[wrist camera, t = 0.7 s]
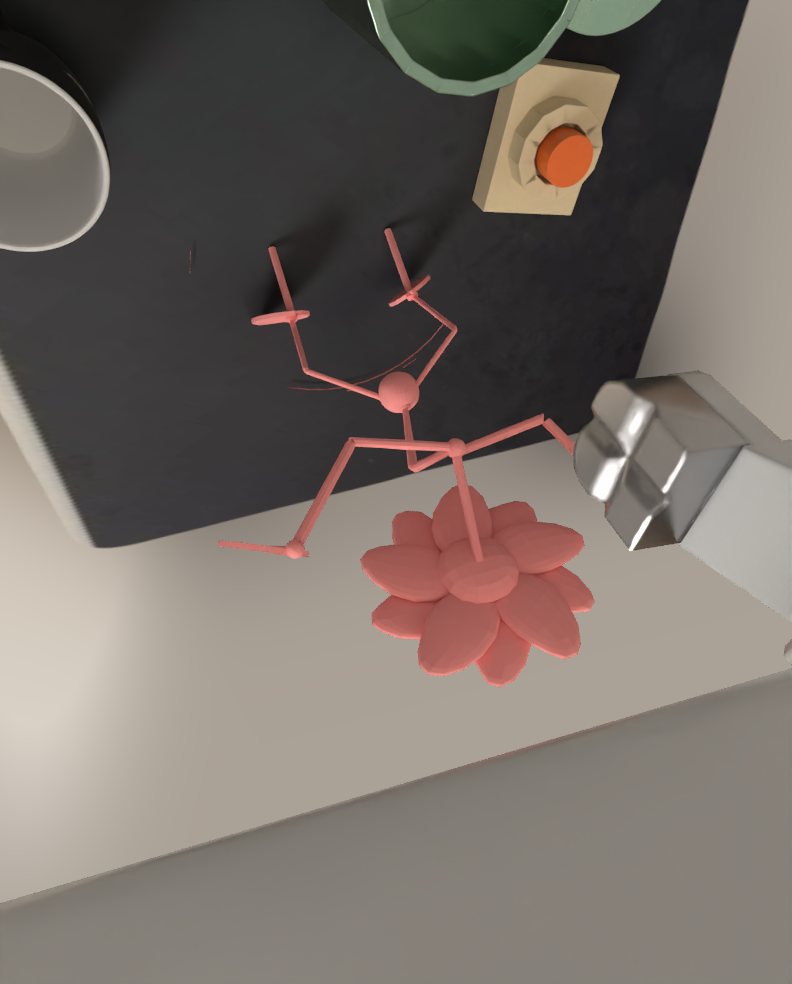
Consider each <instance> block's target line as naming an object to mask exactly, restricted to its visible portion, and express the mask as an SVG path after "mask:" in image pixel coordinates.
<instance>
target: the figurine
mask: <svg viewBox="0 0 792 984" xmlns="http://www.w3.org/2000/svg"><path fill="white" fill-rule="evenodd" d="M384 232H385V235H386V238H387V241H388V243H389V246H390V249H391V252H392V255H393V258H394V260H395V263H396V266H397V269H398V272H399V274H400V277H401V280H402V283H403V286H404V288H405V289H403V290H402V291H401V292H400V293H399V294H397V295H396V296H395V297H394V298H393V299H392V300H391V301H390V302H389V303H388V304H389V305H390V306H391V307H392V306H394V305H397V304H399V303H400V302H402V301H403V300H405V299H406V298H407V299H408V300H409V301H412V300H414V301H416V302H417V303H418V304H419V305H421V306H422V307H423V308H425V309H426V310H427V311H428V312H430V313H431V314H432V315H433V316H435V317H436V318H437V319H438V320H440V321H441V322H442V323H443V324H442V325H441V327H442V326H443V325H444V324H445V325H446V326H447V327H449V328H450V329H451V330H452V331H451V332H450V334H449V335H448V336H447V338H446V339H445V341H444V342H443V343H442V345H441V346H440V348H439V349H438V350H437V352H436V353H435V354H434V356H433V357H432V359H431V360H430V361H429V363H428V364H427V366H426V367H425V368H424V370H423V371H422V373H421V374H420V375H419V377H418V378H417V380H416V381H415V379H414V378H413V377H412V376H411V375H409V374H408V373H405V372H393V373H390V374H389V375H387V376H386V377H384V378H383V380H382V381H381V383H380V385H379V394H378V393H375V392H372V391H370V390H367V389H364V388H361V387H358V386H355V385H356V384H360V383H363V382H367V381H369V380H371V379H374V378H376V377H379V376H381V375H383V374H385V373H387V372H389V371H391V370H392V369H394V368H396V367H398V366H399V365H401V364H402V363H404V362H405V361H406V360H408V359H409V358H411V357H412V356H413V355H415V354H416V353H417V352H418V351H419V350H420V349H421V348H423V347H424V346H425V345H426V344H427V343H428V342H429V341H430V340H431V339H432V338H433V337H434V335H435V334H436V333H437V332H438V331H439V329H440V328H441V327H440V328H439V329H438V330H437V331H436V333H435V334H434V335H433V336H432V337H431V339H430V340H428V341H427V342H426V343H425V344H424V345H423V346H422V347H421V348H420V349H419V350H418V351H417V352H416V353H414V354H413V355H411V356H410V357H409V358H407V359H406V360H405V361H403V362H402V363H401V364H399V365H397V366H395V367H394V368H392V369H390V370H388V371H387V372H385V373H383V374H381V375H378V376H376V377H373V378H371V379H369V380H366V381H363V382H359V383H356V384H350V383H347V382H344V381H341V380H338V379H336V378H333V377H330V376H327V375H324V374H321V373H319V372H316V371H313V370H310V369H309V368H308V365H307V361H306V358H305V354H304V351H303V348H302V344H301V341H300V337H299V334H298V330H297V327H296V324H295V322H296V321H297V320H298V319H303V318H306V317H308V316H309V311H304V310H300V311H295V310H294V307H293V304H292V300H291V297H290V294H289V290H288V287H287V284H286V281H285V277H284V274H283V271H282V268H281V264H280V261H279V258H278V254H277V251H276V248H275V247H273V246H272V247H270V248H269V249H268V250H269V253H270V256H271V260H272V263H273V266H274V270H275V273H276V276H277V280H278V283H279V286H280V290H281V293H282V296H283V300H284V303H285V306H286V309H287V312H278V313H272V314H267V315H261V316H258V317H254V318H253V319H251V321H252V324H256V325H265V324H273V323H280V322H288V323H290V325H291V329H292V332H293V336H294V339H295V343H296V346H297V350H298V353H299V357H300V361H301V364H302V368H303V371H304V372H305V373H306V374H308V375H311V376H314V377H317V378H319V379H322V380H325V381H328V382H331V383H333V384H336V385H339V386H342V387H337V388H344V387H345V388H347V389H350V390H347V391H351V390H353V391H356V392H359V393H361V394H364V395H367V396H370V397H373V398H375V399H378V400H380V401H381V403H382V404H383V406H384V407H385V408H386V409H387V410H389V411H391V412H395V413H403V420H404V430H405V440H397V439H376V438H357V437H349V441H348V442H346V443H345V445H344V447H343V449H342V451H341V453H340V454H339V456H338V458H337V460H336V462H335V464H334V465H333V467H332V469H331V471H330V473H329V475H328V476H327V478H326V480H325V482H324V484H323V486H322V487H321V489H320V491H319V493H318V495H317V497H316V498H315V500H314V502H313V504H312V506H311V508H310V509H309V511H308V513H307V515H306V517H305V519H304V521H303V522H302V524H301V526H300V528H299V530H298V531H297V533H296V535H295V537H294V539H293V540H291V541H289V543H287V545H286V546H264V545H255V544H247V543H239V542H230V541H219V542H218V546H222V547H230V548H238V549H247V550H254V551H262V552H268V553H274V554H279V555H285V556H289V557H291V558H298V557H308V555H309V552H308V551H304V550H305V548H304V545H303V544H304V543H305V541H306V539H307V537H308V535H309V533H310V531H311V529H312V527H313V525H314V524H315V522H316V520H317V518H318V516H319V514H320V512H321V510H322V509H323V506H324V505H325V503H326V501H327V499H328V497H329V495H330V493H331V492H332V490H333V488H334V486H335V484H336V482H337V480H338V478H339V476H340V475H341V473H342V471H343V469H344V467H345V465H346V463H347V461H348V459H349V458H350V456H351V454H352V452H353V450H354V448H355V446H357V447H376V448H390V449H403V450H407V460H408V468H409V469H410V470H412V471H413V472H418V471H420V470H422V469H424V468H426V467H428V466H430V465H432V464H434V463H435V462H437V461H439V460H441V459H443V458H445V457H447V456H450V457H452V459H453V464H454V468H455V473H456V478H457V483H458V485H457V486H455V487H452V488H451V489H450V490H449V491H448V492H447V493H446V494H445V495H444V496H443V497H442V499H441V500H440V502H439V504H438V506H437V508H436V509H435V511H434V513H433V519H431V518H429V517H428V516H426V515H425V514H423V513H422V512H415V511H405V512H402V513H399V514H397V515H396V516H395V518H394V520H393V522H392V528H393V532H392V533H393V534H392V539H393V542H394V545H389V546H381V547H377V548H374V549H371V550H368V551H367V552H366V553H365V554H364V556H363V557H362V558H361V559H360V560H361V564H362V569H363V571H364V572H365V573H366V574H367V575H368V577H369V578H370V579H371V580H372V581H373V583H375V584H376V585H378V586H379V587H381V588H382V589H384V590H385V591H387V592H389V593H390V594H392V595H391V596H390V597H388V598H387V599H386V600H385V601H384V602H383V603H381V604H380V605H379V606H378V608H376V610H375V611H374V612H373V613H372V624H373V625H374V626H375V627H376V628H377V629H379V630H380V631H381V632H384V633H387V634H390V635H392V636H395V637H398V638H401V639H420V643H419V648H418V658H419V666H420V667H421V668H422V669H423V670H424V671H425V672H426V673H427V674H428V675H437V676H445V675H449V674H451V673H455V672H458V671H461V670H463V669H465V668H466V667H468V666H469V665H471V664H472V663H473V662H475V663H476V665H477V667H478V668H479V670H480V672H481V673H482V675H483V677H484V678H485V680H486V681H487V683H488V684H491V685H494V686H498V687H502V686H504V685H506V684H508V683H510V682H512V681H514V680H515V679H516V677H517V676H518V674H519V673H520V672H521V670H522V669H523V668H524V666H525V664H526V660H527V657H528V653H529V650H530V646H531V645H533V646H535V647H537V648H539V649H541V650H543V651H545V652H547V653H548V654H551V655H553V656H556V657H559V658H563V659H567V658H570V657H572V656H575V655H577V654H578V651H579V648H580V644H581V643H580V635H579V627H578V623H577V621H576V619H575V617H574V615H573V613H572V612H584V611H589V610H590V609H591V607H592V605H593V604H594V599H593V596H592V593H591V591H590V590H589V589H588V588H587V587H586V586H585V584H584V583H583V582H582V581H581V580H580V579H579V577H578V576H576V575H575V574H573V573H572V572H570V571H569V570H567V569H566V568H564V567H563V566H561V565H563V564H565V563H566V562H568V561H569V560H570V559H572V558H573V557H575V556H576V555H578V554H579V552H580V551H581V550H582V548H583V547H584V541H583V537H582V535H580V534H579V533H577V532H576V531H574V530H573V529H571V528H567V527H564V526H561V525H557V524H553V523H543V522H537V518H536V516H535V513H534V510H533V508H532V507H530V506H529V505H528V504H527V503H526V502H519V501H514V502H510V503H506V504H502V505H499V506H497V507H494V508H491V509H488V507H487V505H486V503H485V501H484V498H483V496H482V495H480V494H479V493H478V492H477V491H476V490H475V489H474V488H473V487H472V486H468V485H467V481H466V476H465V471H464V467H463V462H462V456H463V455H464V454H467V453H469V452H472V451H475V450H477V449H480V448H482V447H485V446H487V445H490V444H492V443H495V442H498V441H500V440H503V439H505V438H508V437H510V436H513V435H515V434H518V433H520V432H523V431H525V430H528V429H530V428H533V427H535V426H538V425H540V424H543V423H544V424H543V425H544V426H545V428H546V429H547V430H548V431H549V432H550V433H551V434H552V435H553V436H554V437H555V438H556V439H557V440H558V441H559V442H560V443H561V444H562V445H563V446H564V447H565V448H566V449H567V450H568V451H569V452H570V453H571V454H572V455H573V449H574V446H575V443H574V442H573V441H572V440H571V439H570V438H569V437H568V436H567V435H566V434H565V433H564V432H563V431H562V430H561V429H560V428H559V427H558V426H557V425H556V424H555V423H554V422H553V421H552V420H551V419H547V420H546V421H544V414H543V413H542V414H540V415H537V416H535V417H532V418H530V419H528V420H525V421H523V422H520V423H518V424H515V425H512V426H510V427H507V428H505V429H502V430H500V431H497V432H495V433H492V434H490V435H487V436H485V437H483V438H480V439H478V440H475V441H473V442H470V443H468V444H465V443H464V442H463V441H462V440H460V439H451V440H450V441H449V442H432V441H415V440H413V434H412V429H411V423H410V417H409V410H410V409H411V408H413V407H414V406H415V404H416V403H417V401H418V398H419V388H418V386H419V385H420V383H421V382H422V380H423V379H424V378H425V376H426V375H427V373H428V372H429V371H430V369H431V368H432V366H433V365H434V364H435V362H436V361H437V359H438V358H439V356H440V355H441V354H442V352H443V351H444V349H445V348H446V347H447V345H448V344H449V342H450V341H451V340H452V338H453V337H454V335H455V334H456V333H457V326H455V325H454V324H453V323H451V322H450V321H449V320H447V319H446V318H445V317H444V316H442V315H441V314H440V313H438V312H437V311H436V310H434V309H433V308H432V307H431V306H429V305H428V304H427V303H425V302H424V301H423V300H421V299H420V298H419V297H418V293H417V292H416V291H417V290H419V289H420V288H421V287H422V286H424V285H425V284H426V283H427V282H428V281H429V280H430V276H429V275H426V276H423V277H422V278H420V279H418V280H417V281H415V282H413V283H412V284H410V281H409V278H408V275H407V273H406V270H405V267H404V264H403V261H402V259H401V256H400V253H399V250H398V247H397V245H396V242H395V239H394V236H393V234H392V231H391V229H390V228H387V229H385V231H384ZM190 253H191V250H190ZM417 358H418V357H417ZM414 360H415V359H414ZM414 360H413V361H414ZM411 362H412V361H411ZM411 362H410V363H411ZM410 363H408V364H410ZM408 364H407V365H408ZM407 365H405V366H407ZM405 366H404V367H405ZM404 367H403V368H404ZM289 388H295V387H289ZM337 388H330V389H337ZM295 389H303V388H295ZM330 389H304V390H330ZM415 450H427V451H438V452H436V453H434V454H432V455H430V456H428V457H426V458H424V459H422V460H419V461H417V458H416V452H415Z"/></svg>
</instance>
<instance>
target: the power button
mask: <svg viewBox="0 0 792 984" xmlns="http://www.w3.org/2000/svg"><path fill="white" fill-rule="evenodd" d="M592 159H593V147H592V144H591V142H590V140H589V139H588V138H587V137H586V136H584V135H583V134H581V133H580V132H578V131H577V130H575V129H574V128H572V127H566V126H565V127H560V128H557V129H555V130H553V131H552V132H551V133H549V134H548V135H547V136H546V137H545V139H544V140H543V141H542V143H541V145H540V147H539V149H538V152H537V158H536V163H537V168H538V171H539V172H540V174H541V175H542V176H543V177H544V178H546V179H547V180H548V181H549V182H551V183H552V184H553V185H554V186H556V187H560V188H566V187H570V186H572V185H574V184H576V183H577V182H579V181H580V180H581V179H582V178H583V177H584V176H585V174H586V173H587V171H588V170H589V168H590V166H591V163H592Z"/></svg>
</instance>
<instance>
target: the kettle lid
mask: <svg viewBox="0 0 792 984" xmlns="http://www.w3.org/2000/svg"><path fill="white" fill-rule="evenodd" d="M660 1H661V0H580V2H579V4H578V6H577V9H576V11H575V13H574V16H573V18H572V20H571V21H570V24H569V25H568V26H567V29H569V30H571V31H573V32H575V33H578V34H582V35H586V36H602V35H608V34H612V33H615V32H618V31H620V30H623V29H625V28H627V27H629V26H631V25H632V24H634V23H636V22H637V21H639V20H640V19H641V18H643V17H644V16H645V15H647V14H648V13H649V12H650V11H651V10H652V9H653V8H654V7H655V6H656V5H657V4H659V2H660Z"/></svg>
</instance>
